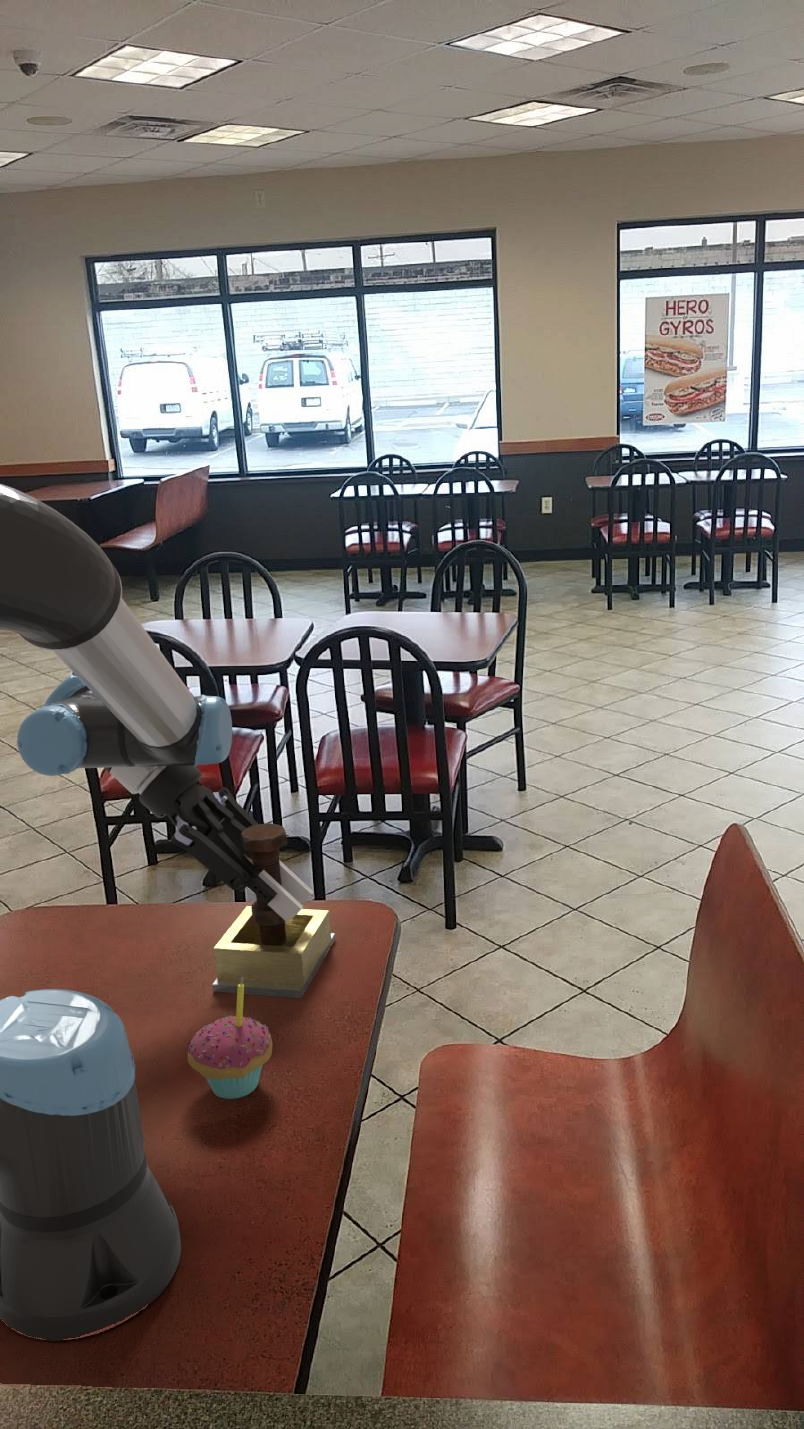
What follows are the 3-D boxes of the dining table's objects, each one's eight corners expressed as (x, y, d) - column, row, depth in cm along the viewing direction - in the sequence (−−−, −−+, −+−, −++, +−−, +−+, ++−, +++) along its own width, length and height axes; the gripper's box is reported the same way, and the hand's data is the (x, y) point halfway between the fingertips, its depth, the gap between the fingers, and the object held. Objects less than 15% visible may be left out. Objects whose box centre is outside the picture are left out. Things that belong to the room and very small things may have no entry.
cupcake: (261, 1052, 119) (250, 953, 115) (288, 1095, 112) (277, 990, 108) (183, 1076, 116) (169, 975, 112) (205, 1122, 108) (191, 1015, 105)
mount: (300, 998, 129) (297, 960, 127) (213, 991, 132) (208, 954, 130) (335, 940, 142) (332, 905, 140) (254, 935, 145) (251, 900, 143)
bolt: (249, 937, 138) (238, 826, 134) (289, 929, 140) (279, 819, 135) (258, 958, 133) (246, 843, 128) (299, 950, 134) (288, 836, 130)
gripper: (169, 771, 142) (302, 895, 143) (108, 821, 127) (258, 959, 128) (203, 733, 139) (339, 859, 140) (145, 778, 124) (298, 920, 125)
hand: (300, 906), depth 134 cm, fingers closed on bolt, 3 cm apart
